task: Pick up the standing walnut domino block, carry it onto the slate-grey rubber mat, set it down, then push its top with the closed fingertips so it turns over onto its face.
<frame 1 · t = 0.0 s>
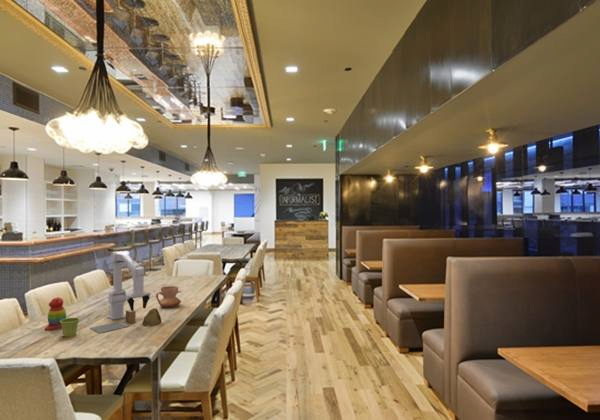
hand: (138, 309, 226), 10 cm above the table, fingers open, 7 cm apart
plant pot: (69, 335, 208), on the table
rubber mat: (108, 327, 222), on the table
stacking bear: (56, 327, 223), on the table
rock: (151, 323, 231), on the table
ceramic jug: (168, 306, 272), on the table
walnut block: (130, 321, 234), on the table
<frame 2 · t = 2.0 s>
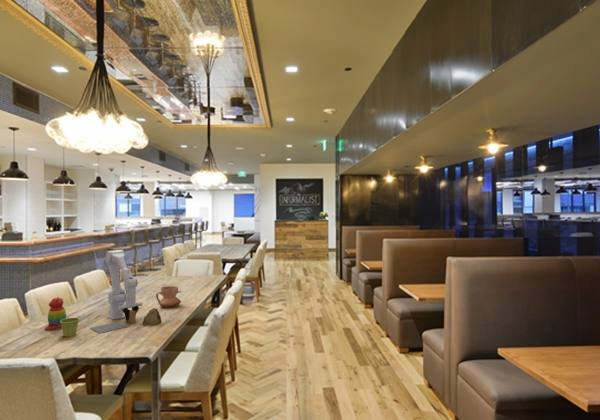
hand: (130, 319, 234), 2 cm above the table, fingers closed on walnut block, 3 cm apart
walnut block: (130, 321, 234), on the table, touching gripper
everything else where it was.
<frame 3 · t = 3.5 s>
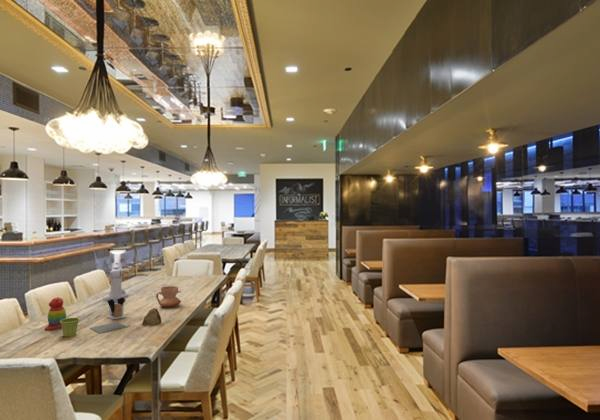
hand: (116, 311, 225), 9 cm above the table, fingers closed on walnut block, 3 cm apart
walnut block: (116, 315, 225), point 6 cm above the table, touching gripper
everything else where it was.
when the fingers open (2 cm above the table, at t = 5.1 s): walnut block stays where it is, resting on rubber mat.
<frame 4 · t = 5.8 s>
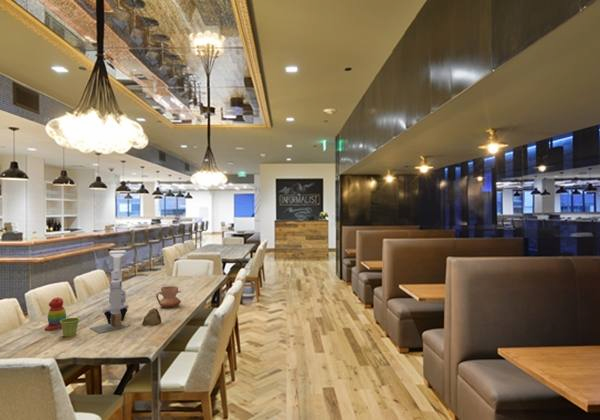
hand: (115, 322, 225), 2 cm above the table, fingers open, 7 cm apart
walnut block: (116, 325, 225), resting on rubber mat
everything else where it was.
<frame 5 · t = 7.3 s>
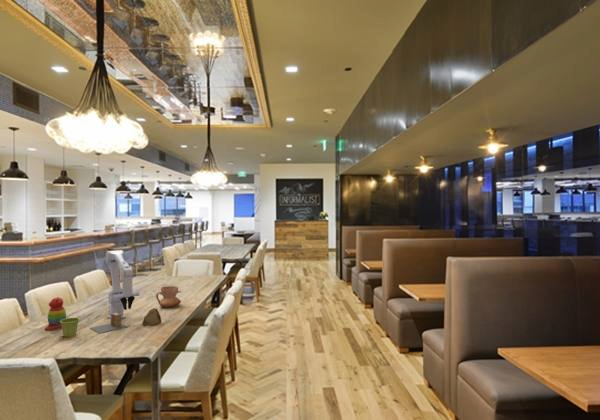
hand: (127, 309, 230), 9 cm above the table, fingers closed
nothing on the table moved.
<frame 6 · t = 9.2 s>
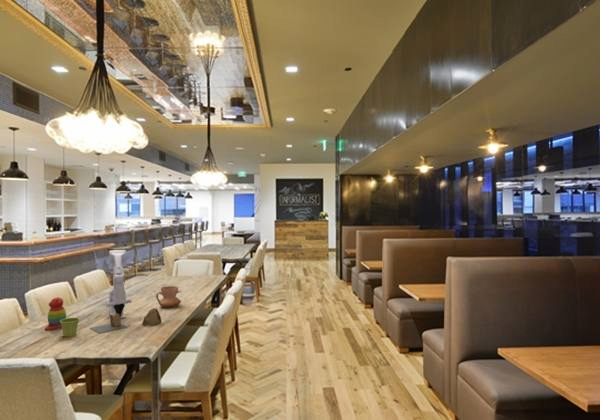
hand: (118, 316, 226), 5 cm above the table, fingers closed
walnut block: (116, 325, 225), point 1 cm above the table, tilted 11°, touching rubber mat
everything else where it was.
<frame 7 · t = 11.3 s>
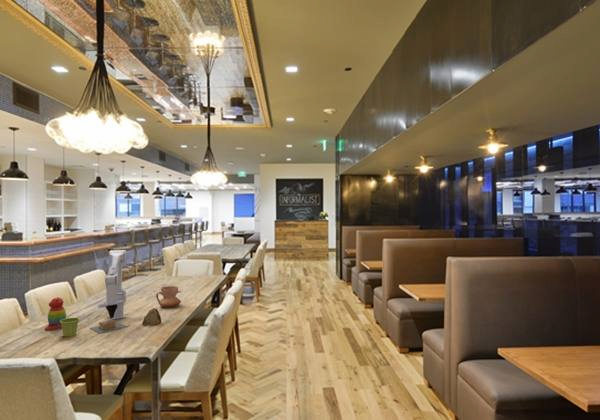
hand: (111, 317, 223), 6 cm above the table, fingers closed
walnut block: (113, 323, 223), point 2 cm above the table, tilted 90°, touching rubber mat
everything else where it was.
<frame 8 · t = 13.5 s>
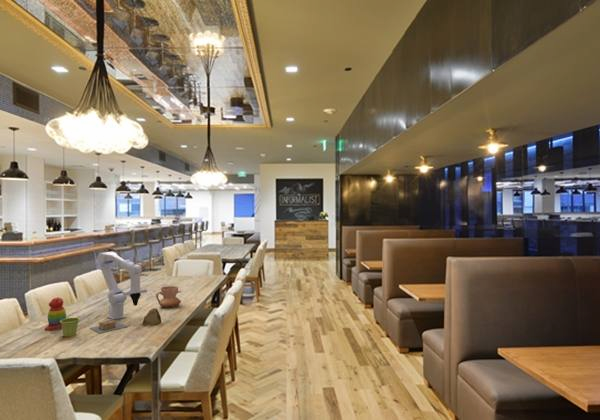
hand: (135, 305, 238), 9 cm above the table, fingers closed
nothing on the table moved.
at the end: walnut block tilted 90°; walnut block inside the target area (2.3 cm from its centre), point 2.1 cm above the table; the gripper is holding nothing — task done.
